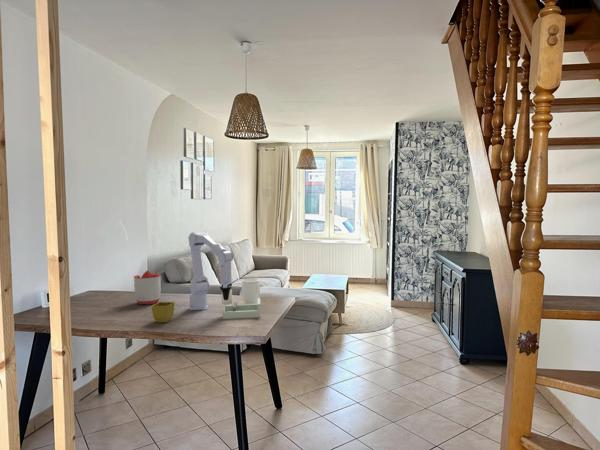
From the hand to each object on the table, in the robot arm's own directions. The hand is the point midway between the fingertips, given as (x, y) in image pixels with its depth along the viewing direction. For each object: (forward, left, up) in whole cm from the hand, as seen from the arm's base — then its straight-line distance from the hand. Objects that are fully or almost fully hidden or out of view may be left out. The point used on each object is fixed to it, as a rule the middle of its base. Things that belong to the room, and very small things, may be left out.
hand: (226, 298), depth 213 cm
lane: (+7, 0, -9) cm, 12 cm away
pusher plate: (+5, 0, -9) cm, 10 cm away
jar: (+12, +21, -9) cm, 26 cm away
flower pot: (-32, -7, -9) cm, 34 cm away
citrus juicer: (-52, +37, -9) cm, 64 cm away
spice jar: (0, 0, -2) cm, 3 cm away
